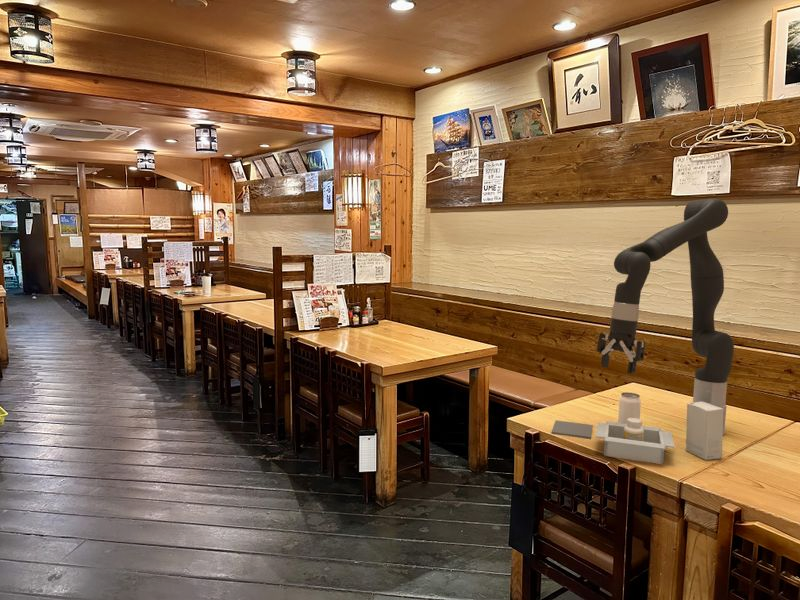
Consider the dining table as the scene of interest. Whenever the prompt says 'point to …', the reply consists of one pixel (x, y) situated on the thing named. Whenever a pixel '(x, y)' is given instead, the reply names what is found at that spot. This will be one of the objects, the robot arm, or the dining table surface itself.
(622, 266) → the robot arm
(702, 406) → the skincare box
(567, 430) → the mat
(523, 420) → the dining table surface
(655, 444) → the carton
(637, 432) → the supplement bottle
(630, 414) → the can
